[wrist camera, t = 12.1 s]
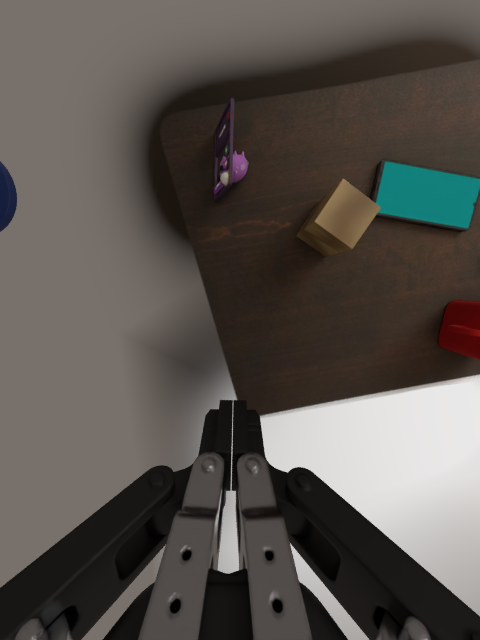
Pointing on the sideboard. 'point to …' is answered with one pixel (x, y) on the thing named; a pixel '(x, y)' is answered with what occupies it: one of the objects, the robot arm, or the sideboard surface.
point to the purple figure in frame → (227, 154)
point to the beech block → (338, 220)
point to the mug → (461, 328)
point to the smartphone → (425, 195)
